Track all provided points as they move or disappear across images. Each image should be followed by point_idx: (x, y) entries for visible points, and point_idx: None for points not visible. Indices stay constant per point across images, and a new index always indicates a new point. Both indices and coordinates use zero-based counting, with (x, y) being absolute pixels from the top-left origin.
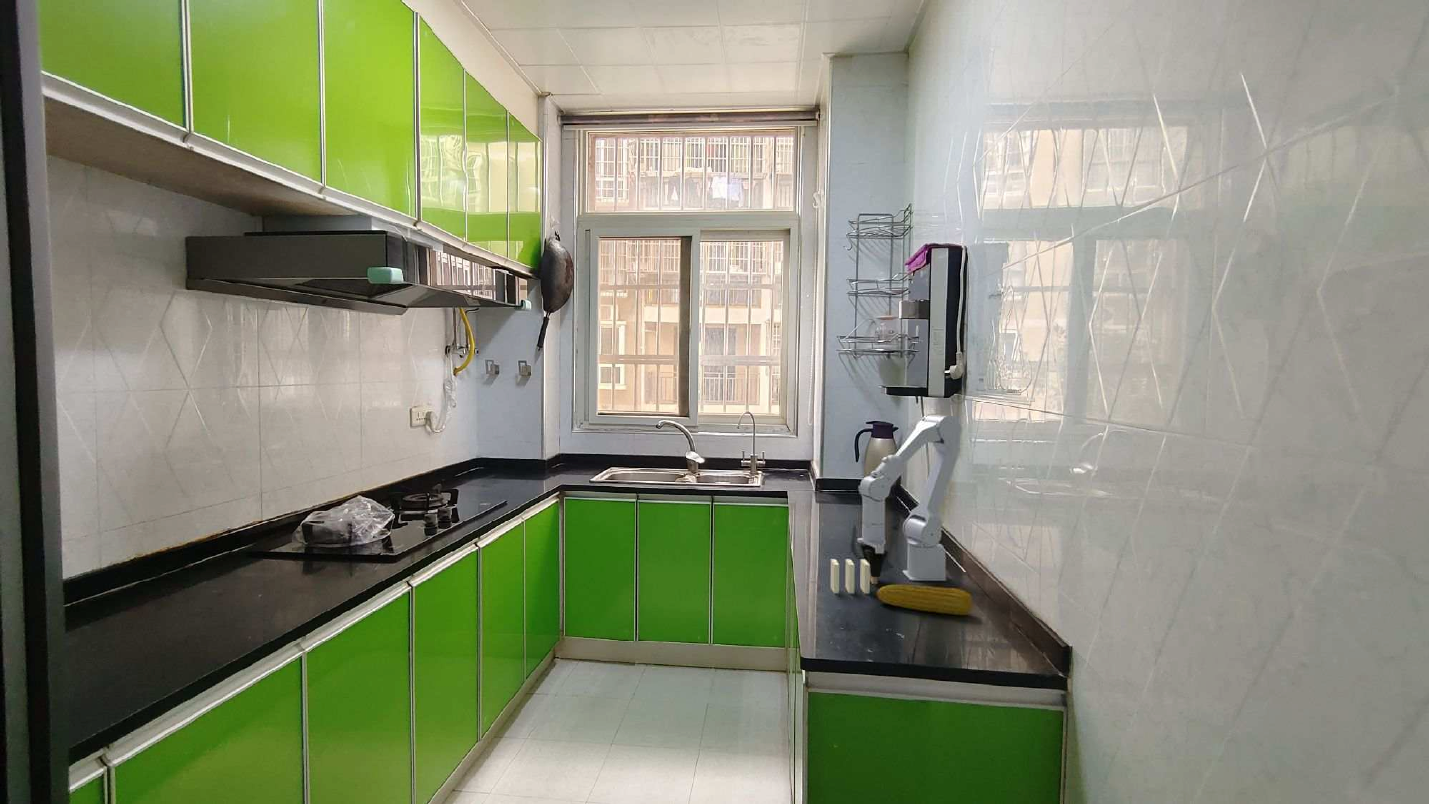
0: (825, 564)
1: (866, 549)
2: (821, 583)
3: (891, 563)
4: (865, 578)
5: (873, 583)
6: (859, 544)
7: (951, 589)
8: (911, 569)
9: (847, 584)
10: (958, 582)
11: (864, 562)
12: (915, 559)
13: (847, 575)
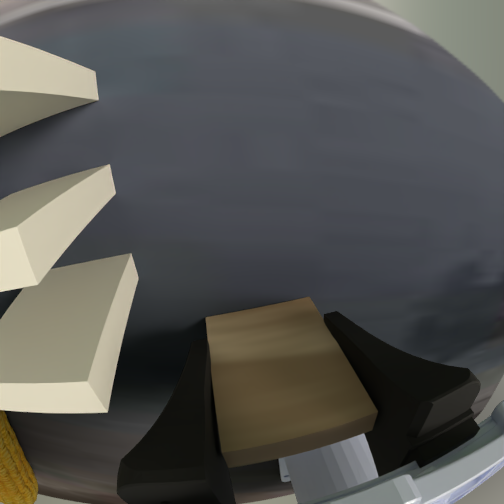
0: (501, 108)
1: (208, 487)
2: (167, 11)
3: (467, 354)
4: (2, 322)
5: (206, 323)
6: (455, 390)
7: (2, 498)
8: (315, 454)
9: (38, 188)
10: (274, 488)
11: (9, 392)
12: (314, 496)
13: (9, 205)
